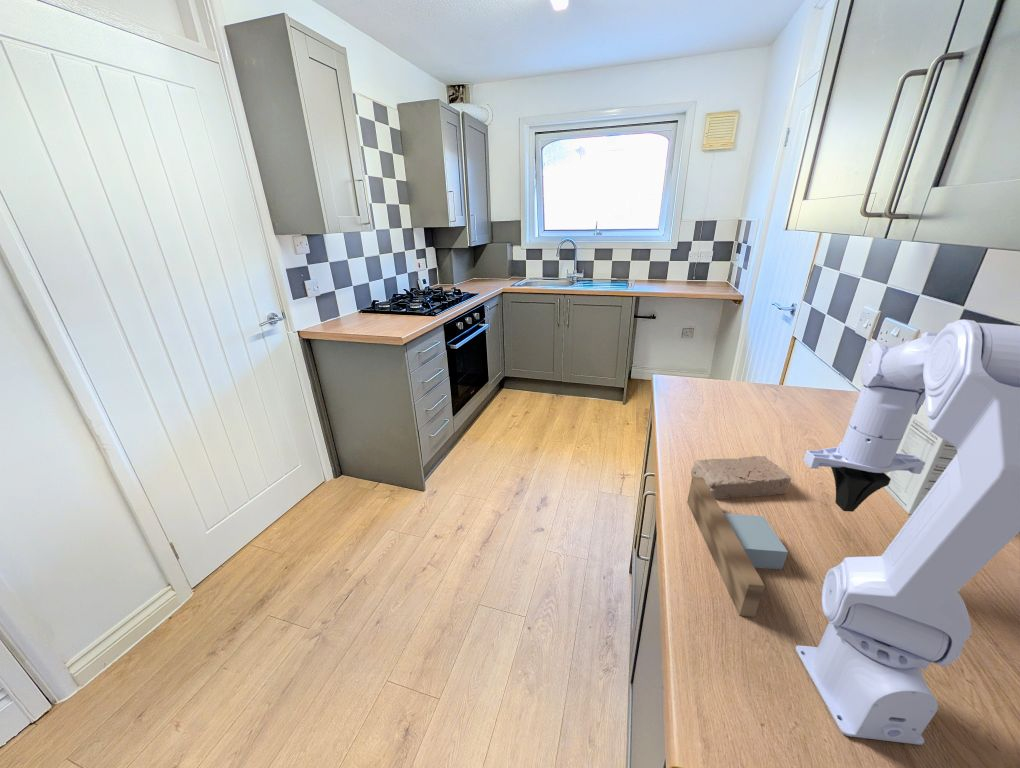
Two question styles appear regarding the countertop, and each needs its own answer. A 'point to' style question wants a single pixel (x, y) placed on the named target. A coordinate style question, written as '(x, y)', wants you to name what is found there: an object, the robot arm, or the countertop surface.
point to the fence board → (725, 549)
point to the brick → (742, 476)
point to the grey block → (758, 540)
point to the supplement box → (928, 449)
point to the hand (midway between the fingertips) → (844, 507)
